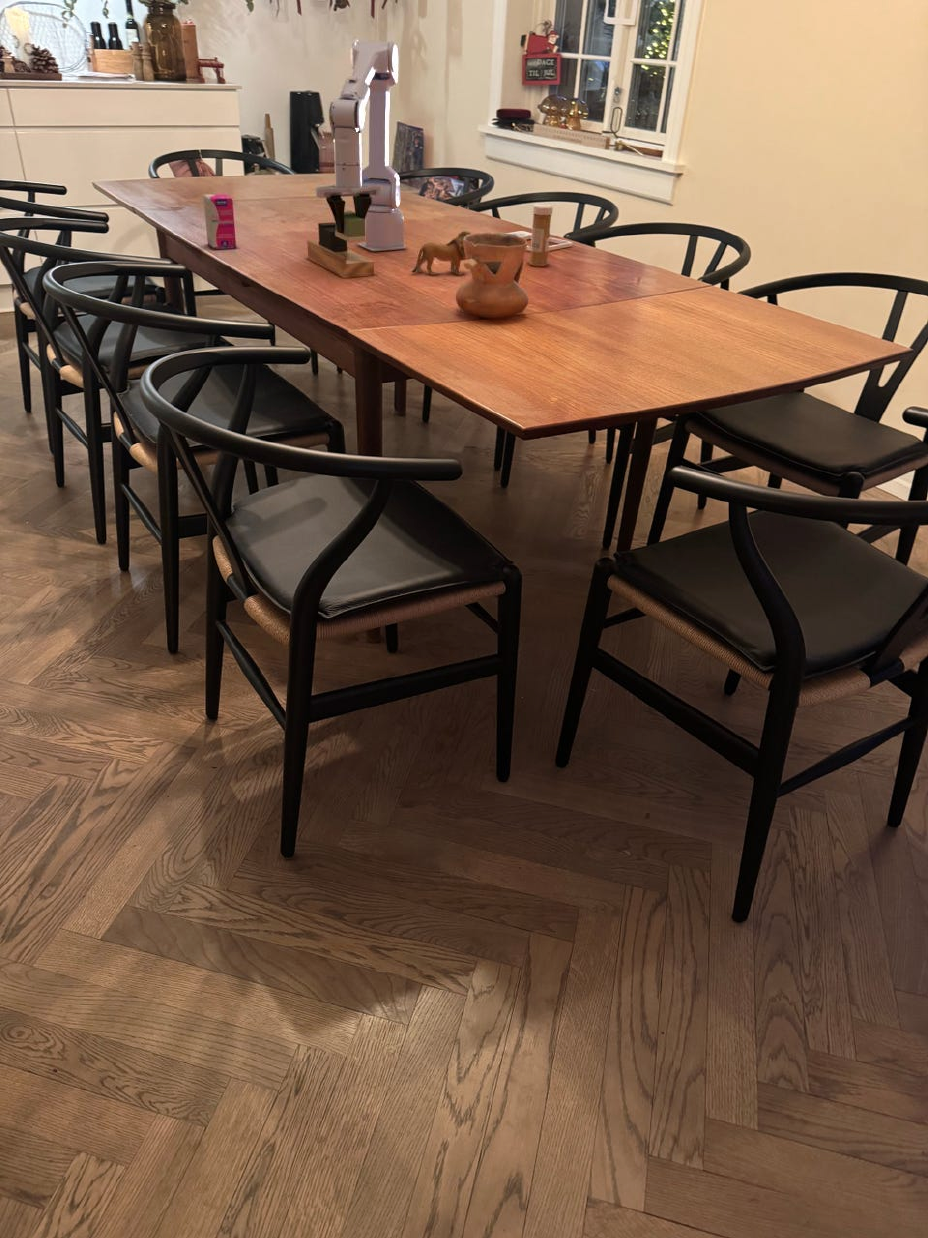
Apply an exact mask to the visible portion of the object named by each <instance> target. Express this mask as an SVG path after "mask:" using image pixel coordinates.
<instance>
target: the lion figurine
mask: <svg viewBox="0 0 928 1238" xmlns="http://www.w3.org/2000/svg"><path fill="white" fill-rule="evenodd" d="M470 234H472V233H471V232H470V231H468V230H463V231H461V232H460V233H458V234H457V236H456V237H455V238H452V240H450V241H449V242H447V243H445V244H442V243H436V242H433V241H432V242H431V241H429V242H426V243H424V244H423V245H422V246H421V248H420V249H419V252H418V254H417V259H416V264H415V266H414V268H413V269H412V270H411V273H416V272H418V273H423V271H424V270H423V268H421V266H422V265H423V264H425V263H427V265H426V269H427V271H428V272H429V276H436V275H437V274H436V272H435V271H433V269H432V266H433V263H434V261H435V259H437V260H438V261H440V262H450V272H451V273H453V274H455V275H456V276H462V272H460V267H461V262H462V261H467V260H466V256H465V252H464V246H463V238H464V237H465V236H467V235H470Z"/></svg>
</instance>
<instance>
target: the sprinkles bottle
mask: <svg viewBox="0 0 928 1238" xmlns="http://www.w3.org/2000/svg"><path fill="white" fill-rule="evenodd" d="M553 207H554V206H553V205H551V204H547V203H535V204H534V205H533V206H532V215H533V216H532V217H533V218H532V227H531V233H532V236H531V239H530V247H531V251H530V255H529V265H530V266H532V267H547V266H548V264H549V263H548V259H549V258H548V257H549V251H548V250H549V246H550V241H549V238H550V236H551V223H552V215H553Z"/></svg>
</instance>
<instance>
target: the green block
mask: <svg viewBox="0 0 928 1238" xmlns="http://www.w3.org/2000/svg"><path fill="white" fill-rule="evenodd" d="M334 223H335V226H336V222H335V221H334ZM335 236H337V237H339V238H341V239H344V240H346V241H347V243H357V242H358V243H361V242H365V241H366V237H365V220H364V219H362V218H359V217H357V216H356V213H355V211H351V210H347V211H345V210H344V233H339V232H338V231H337V226H336V231H335Z"/></svg>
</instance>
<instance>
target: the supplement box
mask: <svg viewBox="0 0 928 1238" xmlns="http://www.w3.org/2000/svg"><path fill="white" fill-rule="evenodd" d="M202 200H203V201H202V202H203V211H204V220H205V230H206V231H205V233H206V241H207V245H208V246H209V247H210V248H211V249H212V250H227V249H237V238H236V228H235V227H236V225H235V215H234V214H235V213H234V203H233V198H232V197H231V196H229V195H228V194H227V193H207V194H206V193H205V194H204V193H203V194H202Z"/></svg>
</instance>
